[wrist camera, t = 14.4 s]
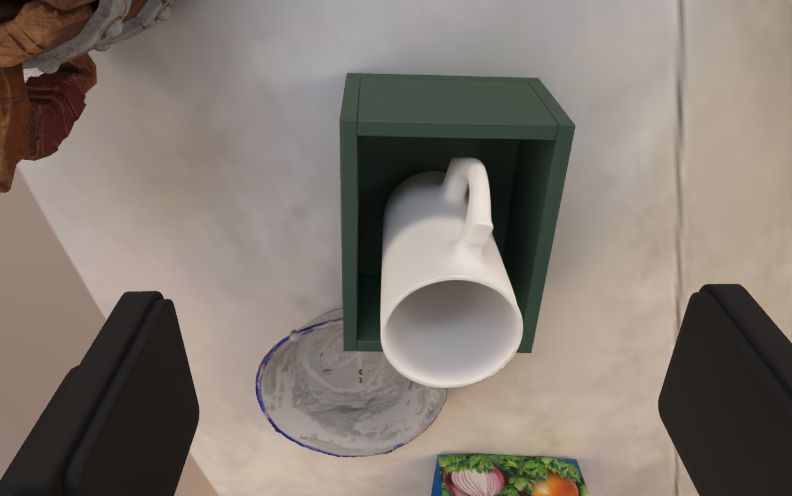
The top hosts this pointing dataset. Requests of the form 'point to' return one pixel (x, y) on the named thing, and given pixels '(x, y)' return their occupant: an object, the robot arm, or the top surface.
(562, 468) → the blue food package
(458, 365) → the mug
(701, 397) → the robot arm
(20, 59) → the mug
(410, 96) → the bin
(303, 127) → the top surface
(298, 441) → the bowl
